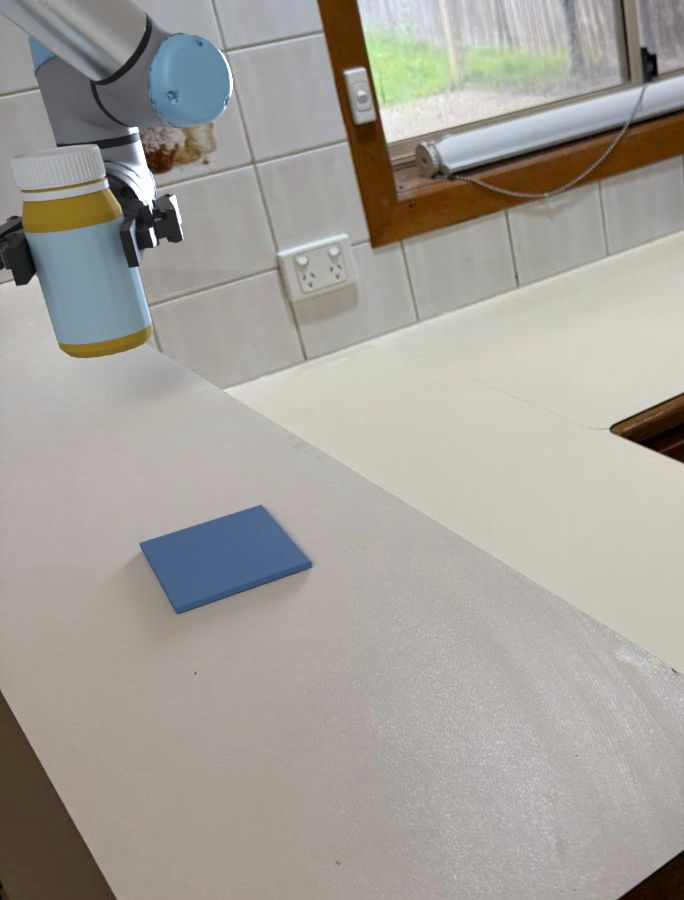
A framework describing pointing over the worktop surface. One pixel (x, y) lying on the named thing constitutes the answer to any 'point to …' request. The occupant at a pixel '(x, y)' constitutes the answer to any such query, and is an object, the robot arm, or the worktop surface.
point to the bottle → (80, 251)
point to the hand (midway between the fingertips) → (73, 257)
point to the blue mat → (222, 557)
